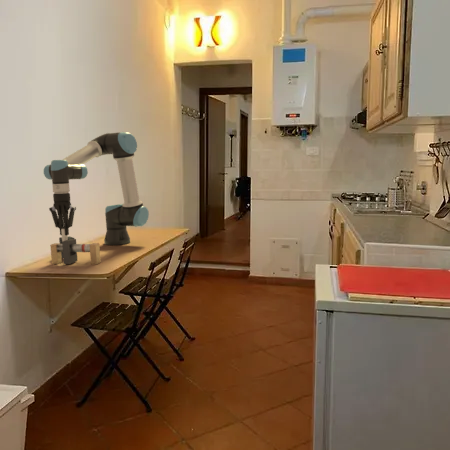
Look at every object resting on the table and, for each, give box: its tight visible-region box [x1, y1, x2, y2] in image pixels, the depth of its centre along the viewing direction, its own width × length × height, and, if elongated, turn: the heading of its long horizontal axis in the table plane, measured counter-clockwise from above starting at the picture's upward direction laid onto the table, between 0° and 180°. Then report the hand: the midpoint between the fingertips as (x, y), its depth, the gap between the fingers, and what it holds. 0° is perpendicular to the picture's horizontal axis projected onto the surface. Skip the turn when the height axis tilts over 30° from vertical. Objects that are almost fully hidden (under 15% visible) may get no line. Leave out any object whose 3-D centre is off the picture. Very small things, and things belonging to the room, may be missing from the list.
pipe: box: [50, 242, 102, 265], centre depth 225 cm, size 23×4×10 cm, turn 81°
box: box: [58, 235, 75, 259], centre depth 240 cm, size 8×6×11 cm
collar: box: [62, 238, 78, 265], centre depth 225 cm, size 3×8×11 cm, turn 170°
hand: (65, 241), depth 225 cm, fingers closed
